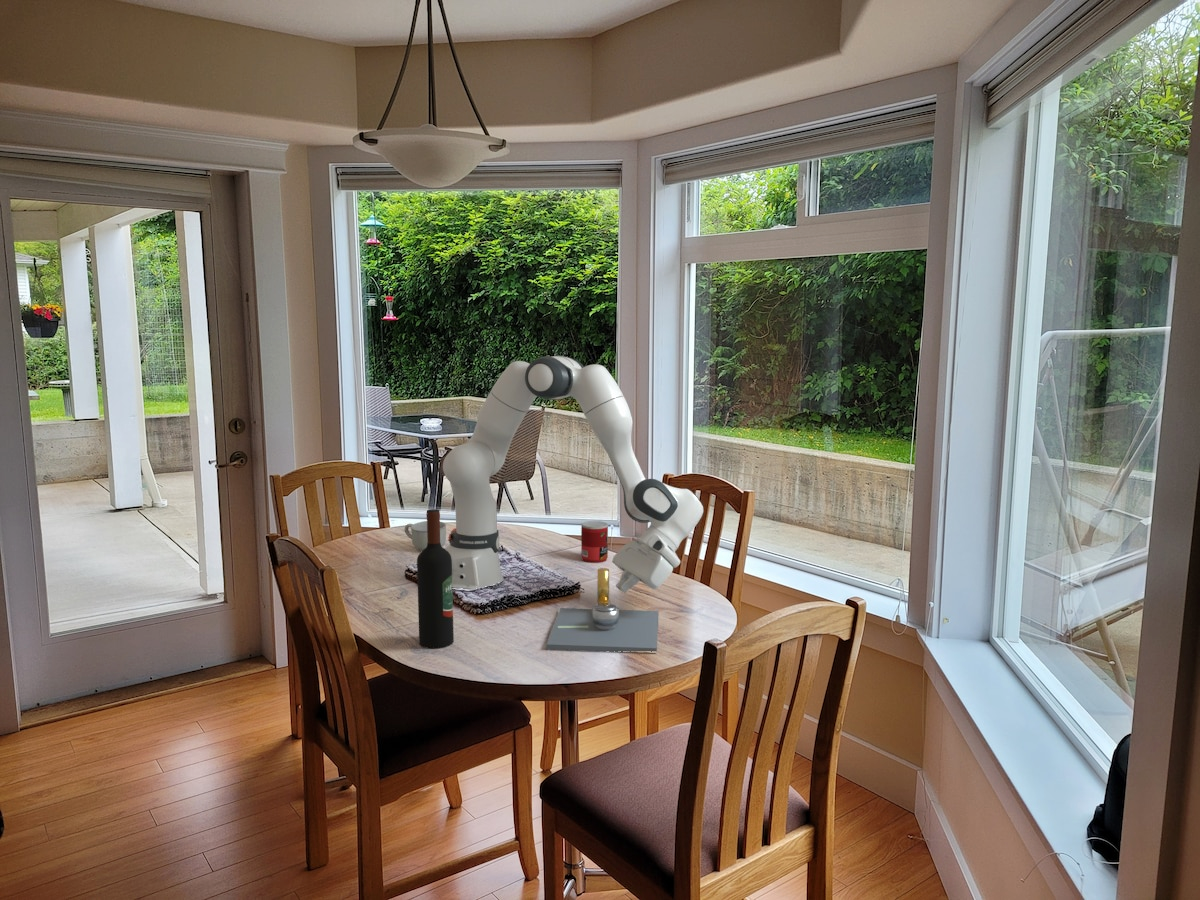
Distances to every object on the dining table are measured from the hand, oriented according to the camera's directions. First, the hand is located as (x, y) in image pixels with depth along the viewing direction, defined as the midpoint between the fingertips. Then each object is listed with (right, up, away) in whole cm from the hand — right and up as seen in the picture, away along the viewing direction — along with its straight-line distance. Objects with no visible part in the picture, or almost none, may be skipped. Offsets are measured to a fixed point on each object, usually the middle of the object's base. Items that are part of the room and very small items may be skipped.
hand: (620, 589), depth 209 cm
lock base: (-4, -8, -12) cm, 15 cm away
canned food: (-7, +1, +48) cm, 48 cm away
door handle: (-4, -5, -8) cm, 10 cm away
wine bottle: (-41, -9, -19) cm, 46 cm away
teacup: (-60, +3, +59) cm, 84 cm away
